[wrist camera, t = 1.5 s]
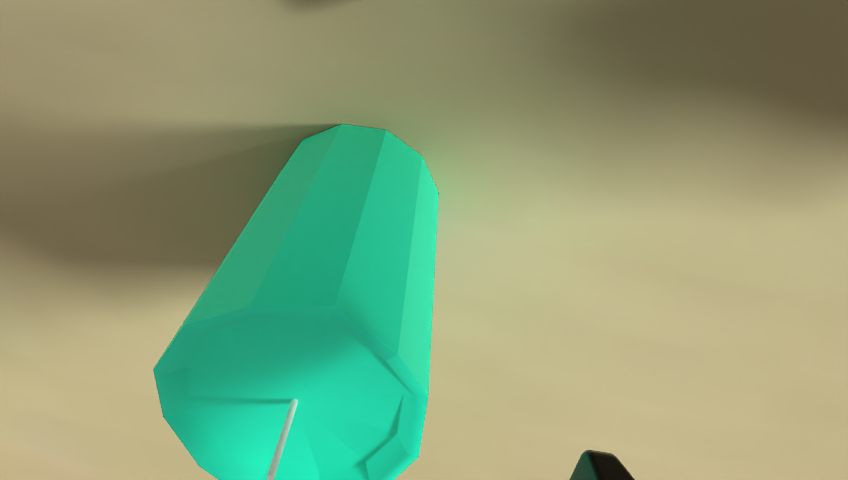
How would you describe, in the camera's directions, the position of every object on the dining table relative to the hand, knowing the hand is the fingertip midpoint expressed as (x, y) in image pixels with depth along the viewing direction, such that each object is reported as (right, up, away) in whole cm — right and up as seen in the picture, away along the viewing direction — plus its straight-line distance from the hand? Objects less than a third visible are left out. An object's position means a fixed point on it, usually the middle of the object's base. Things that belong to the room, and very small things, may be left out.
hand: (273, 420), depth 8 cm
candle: (0, +4, +13) cm, 14 cm away
